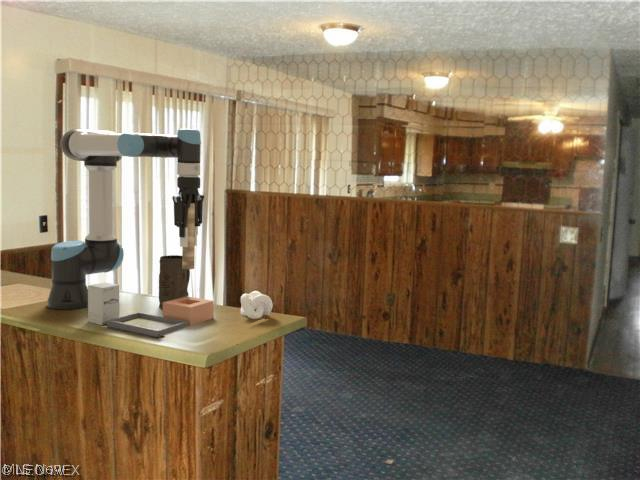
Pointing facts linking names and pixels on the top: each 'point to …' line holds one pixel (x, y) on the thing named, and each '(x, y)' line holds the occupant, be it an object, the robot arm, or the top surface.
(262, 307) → the white decorative knot
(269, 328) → the top surface
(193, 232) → the wooden peg
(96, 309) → the supplement box
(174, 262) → the beer stein
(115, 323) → the tray
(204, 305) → the orange square hole block
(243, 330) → the top surface
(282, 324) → the top surface
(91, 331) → the top surface
